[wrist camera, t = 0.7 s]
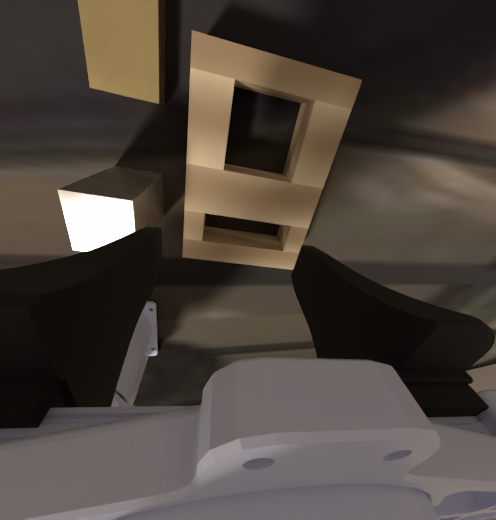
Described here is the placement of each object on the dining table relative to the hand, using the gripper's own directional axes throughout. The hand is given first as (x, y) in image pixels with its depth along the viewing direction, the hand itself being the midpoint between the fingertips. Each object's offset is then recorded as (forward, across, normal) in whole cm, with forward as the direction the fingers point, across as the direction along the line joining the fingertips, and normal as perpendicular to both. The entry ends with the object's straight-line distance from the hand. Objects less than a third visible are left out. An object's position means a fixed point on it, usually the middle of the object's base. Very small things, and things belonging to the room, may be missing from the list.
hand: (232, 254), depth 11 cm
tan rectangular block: (+10, +7, -9) cm, 15 cm away
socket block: (+9, -2, -2) cm, 10 cm away
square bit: (+10, +7, +1) cm, 12 cm away
